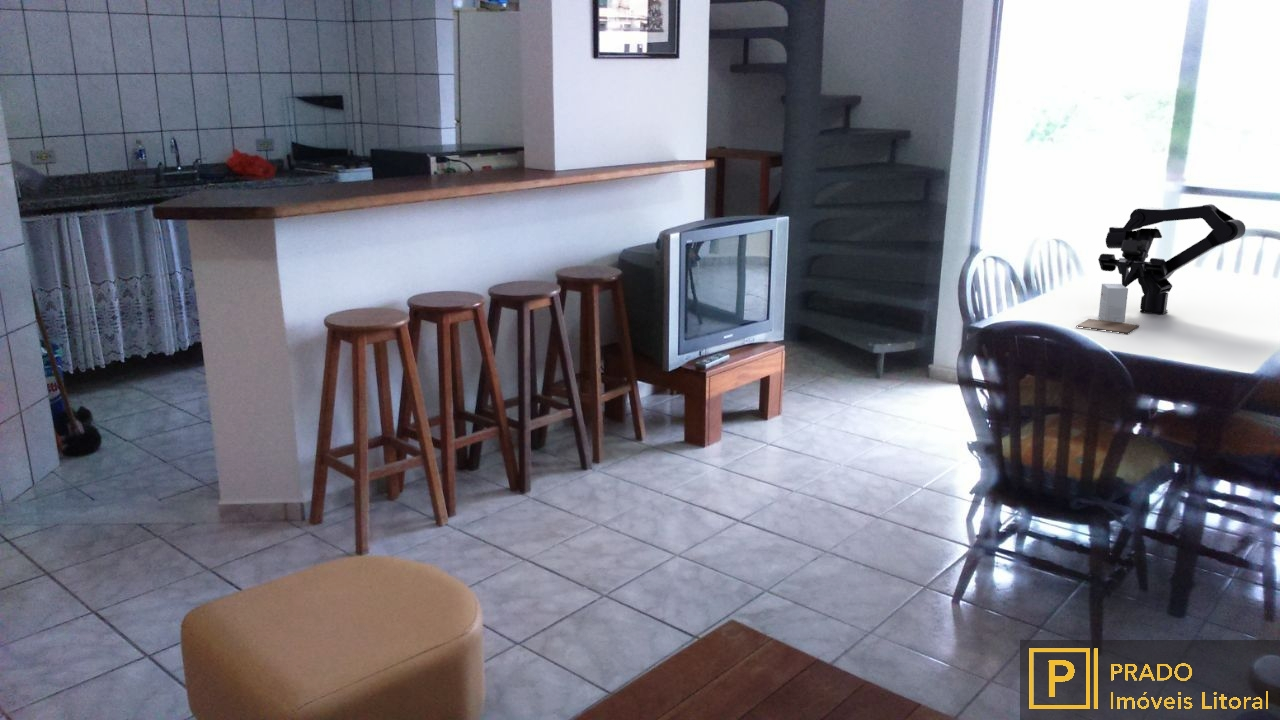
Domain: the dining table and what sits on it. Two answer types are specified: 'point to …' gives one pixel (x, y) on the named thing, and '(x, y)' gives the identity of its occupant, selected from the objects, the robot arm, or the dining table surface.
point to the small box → (1113, 302)
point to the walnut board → (1108, 326)
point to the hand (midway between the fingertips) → (1123, 286)
